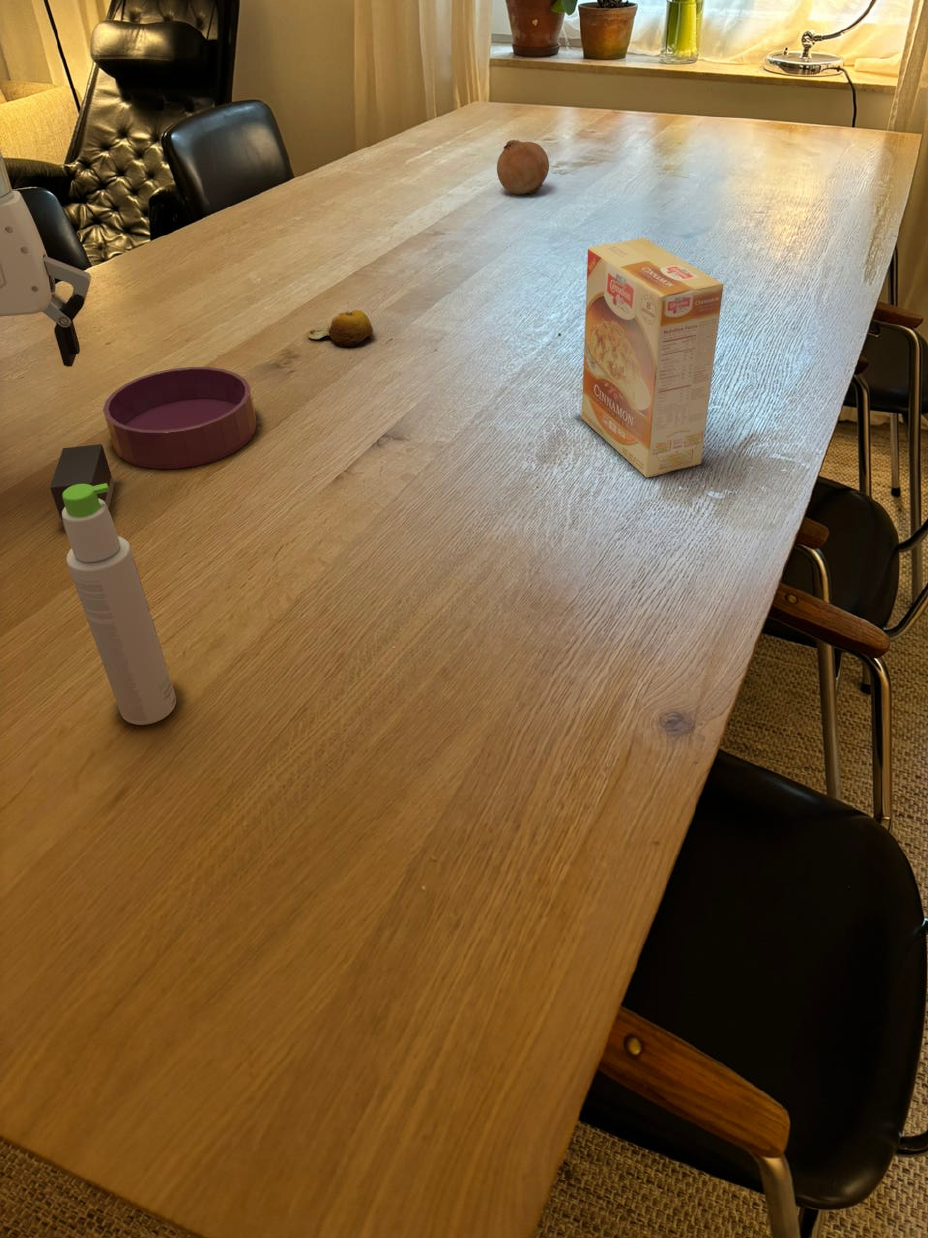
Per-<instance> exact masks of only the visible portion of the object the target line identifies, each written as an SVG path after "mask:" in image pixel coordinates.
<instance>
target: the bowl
mask: <svg viewBox="0 0 928 1238" xmlns="http://www.w3.org/2000/svg"><path fill="white" fill-rule="evenodd" d="M102 411H103V415H104V418H105V421H106V426H107V428H108V432H109V435H110V439H111V442H112V445H113V448H114V451H115V452H116V454H117V455H118V457H119V458H121V459H122V460H123V461H125V462H127V463H129V464H131V465H134V466H137V467H141V468H146V469H152V470H153V469H154V470H177V469H178V470H179V469H187V468H192V467H197V466H202V465H207V464H210V463H212V462H215V461H219V460H222V459H224V458H226V457H228V456H230V455H232V454H234V453H236V452H237V451H239V450H240V449H242V448H243V447H244V446H245V445H247V444H248V443H249V442H250V441H251V440H252V439H253V437H254V435H255V433H256V432H257V416H256V410H255V405H254V400H253V394H252V388H251V386H250V384H249V382H248V381H247V379H246V378H244V377H243V376H241V375H240V374H239V373H236V372H234V371H231V370H228V369H224V368H218V367H211V366H185V367H176V368H170V369H165V370H160V371H155V372H152V373H149V374H146V375H143V376H140V377H138V378H135V379H133V380H132V381H128V382H127V383H125V384H123V385H121V386H120V387H119V388H117V389H116V390H115V391H113V392H112V393H111V394H110V395H109V397H108V398H107V399H106V400H105V401H104V405H103V410H102Z"/></svg>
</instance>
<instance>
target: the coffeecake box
mask: <svg viewBox="0 0 928 1238" xmlns="http://www.w3.org/2000/svg"><path fill="white" fill-rule="evenodd" d="M586 264H587V265H586V266H587V267H586V290H585V291H586V293H585V318H584V343H583V344H584V345H583V346H584V347H583V371H582V372H583V373H582V394H581V395H582V396H581V397H582V398H581V415H580V419H581V420H582V421H583V422H584V423H586V424H587V425H588V426H589V427H590V428H591V429H592V430H593V431H595V432H596V433H597V434H598V435H599V436H600V437H601V438H602V439H603V440H604V441H605V442H607V443H608V444H609V445H610V446H611V447H612V448H613V449H614V450H615V451H617V452H618V453H619V454H620V455H621V456H622V457H623V458H624V459H625V460H627V462H628V463H630V464H631V465H632V466H633V467H634V468H635V469H636V470H637V471H638V472H640V474H642V475H643V476H644V477H645V478H651V477H657V476H660V475H663V474H667V473H669V472H672V471H677V470H681V469H686V468H691V467H694V466H698V465H701V464H702V461H703V460H702V459H703V452H704V451H703V450H704V442H705V436H706V435H705V434H706V428H707V420H708V411H709V405H710V396H711V388H712V380H713V373H714V365H715V356H716V349H717V341H718V333H719V325H720V317H721V316H720V315H721V307H722V301H723V293H724V286H725V284H724V282H721V281H719V280H717V279H715V278H714V277H712V276H710V275H709V274H707V273H705V272H704V271H702V270H701V269H699V268H697V267H695V266H694V265H692V264H690V263H689V262H687V261H685V260H683V259H682V258H680V257H679V256H677V255H675V254H674V253H672V252H671V251H668V250H667V249H665V248H663V247H661V246H659V245H657V244H656V243H654V242H652V241H651V240H649V239H648V238H646V237H641V238H640V237H639V238H636V239H629V240H624V241H618V242H606V243H602V244H597V245H593V246H589V247H588V248H587V263H586Z"/></svg>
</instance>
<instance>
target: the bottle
mask: <svg viewBox="0 0 928 1238" xmlns="http://www.w3.org/2000/svg"><path fill="white" fill-rule="evenodd" d="M108 491H109V488H108V485H107V483H104V484H100V485H96V486H91V485H89V484H77V485H73V486H71V487H69V488H67V489H66V490H65V491H64V492H63V495H62V497H63V501H64V504H65V508H64V509H63V511H62V518H63V522H64V526H65V530H64V531H65V533H66V536H67V539H68V542H69V545H70V550H69V551H68V553H67V555H66V565H67V567H68V570H69V572H70V575H71V578H72V581H73V584H74V586H75V589H76V593H77V595H78V599H79V601H80V602H81V603H80V604H81V606H82V609H83V612H84V615H85V618H86V621H87V623H88V627H89V629H90V631H91V635H92V637H93V640H94V643H95V646H96V648H97V651H98V654H99V657H100V660H101V662H102V666H103V668H104V671H105V674H106V677H107V679H108V683H109V685H110V688H111V691H112V694H113V696H114V699H115V701H116V704H117V708H118V710H119V713H120V715H121V717H122V719H123V720H124V721H126V722H127V723H129V724H132V725H135V726H146V725H151V724H155V723H158V722H160V721H163V719H165V718H167V717H168V716H169V715H170V714H171V713H172V712H173V710H174V709H175V707H176V704H177V696H176V692H175V689H174V686H173V683H172V679H171V676H170V672H169V669H168V665H167V663H166V662H167V661H166V659H165V656H164V653H163V650H162V646H161V643H160V640H159V636H158V632H157V630H156V627H155V623H154V620H153V617H152V613H151V609H150V607H149V602H148V600H147V597H146V593H145V590H144V587H143V583H142V580H141V576H140V573H139V569H138V566H137V564H136V560H135V557H134V553H133V551H132V547H131V544H130V542H129V541H128V540H127V539H126V538H123V537H122V536H119V535H118V532H117V528H116V525H115V523H114V520H113V517H112V515H111V512H110V509H109V510H108V507H107V505H106V503H105V502H104V501H103V500H101V499H98V497H97V494H100V493H104V492H108Z"/></svg>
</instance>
